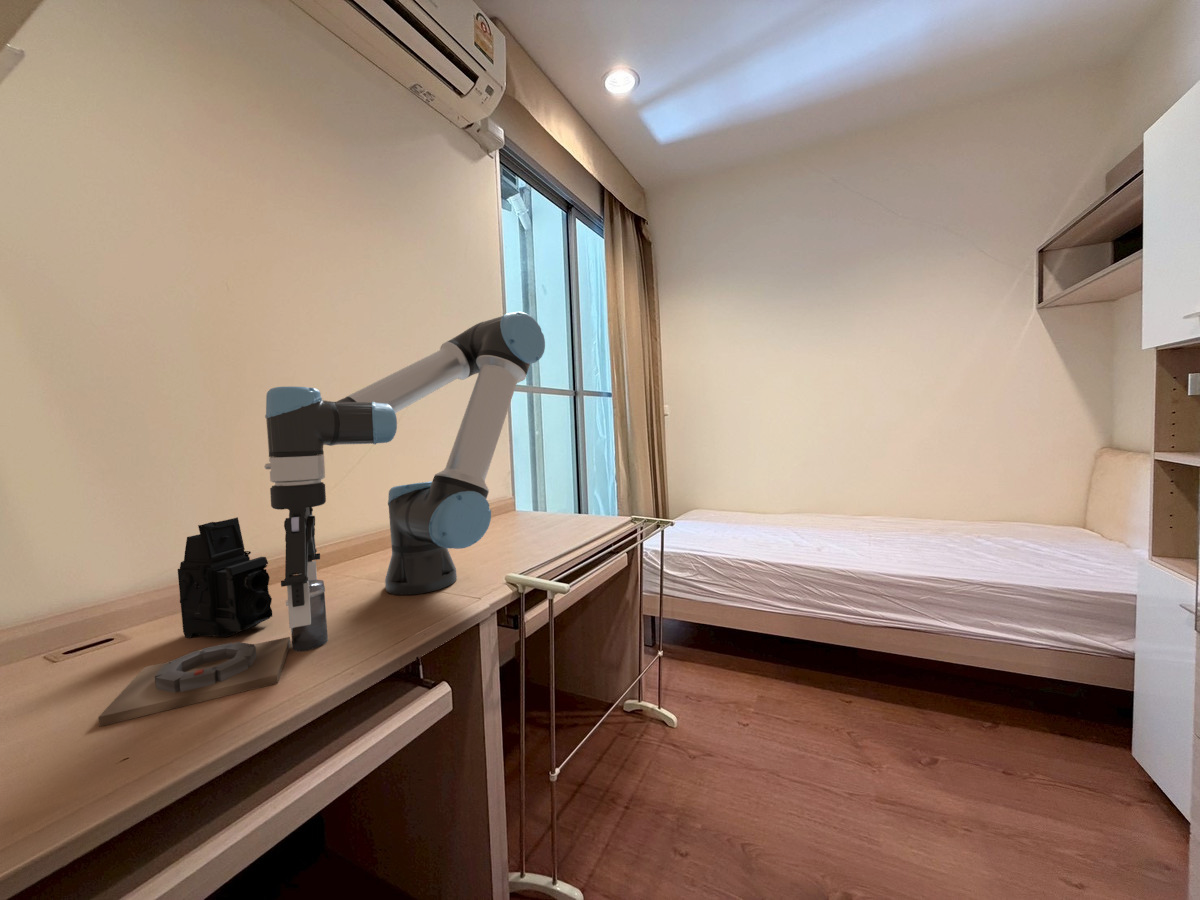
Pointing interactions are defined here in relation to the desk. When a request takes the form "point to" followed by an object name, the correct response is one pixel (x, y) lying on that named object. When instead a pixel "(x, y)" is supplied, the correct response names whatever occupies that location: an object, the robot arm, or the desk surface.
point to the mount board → (166, 701)
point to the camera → (221, 583)
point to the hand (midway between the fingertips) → (304, 611)
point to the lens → (312, 621)
